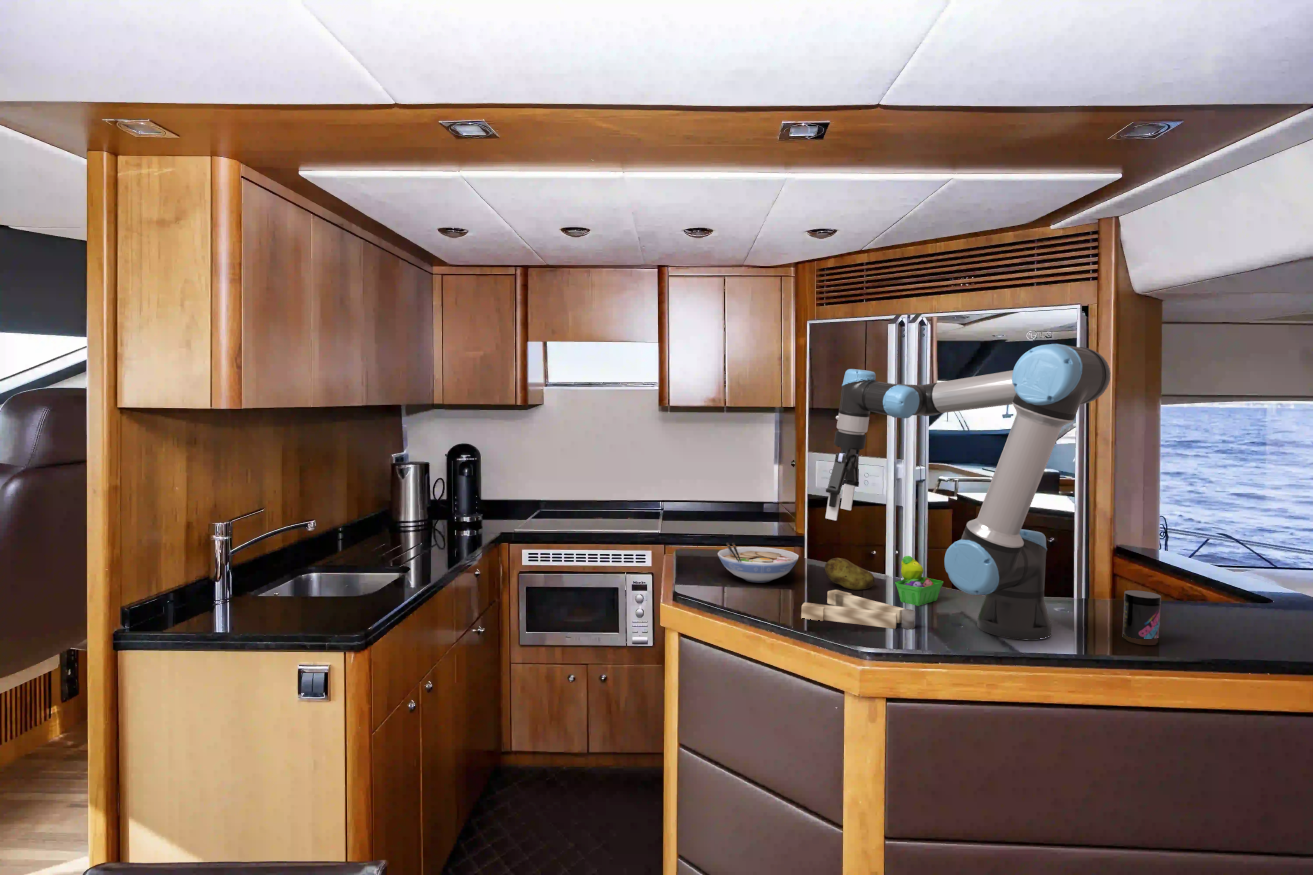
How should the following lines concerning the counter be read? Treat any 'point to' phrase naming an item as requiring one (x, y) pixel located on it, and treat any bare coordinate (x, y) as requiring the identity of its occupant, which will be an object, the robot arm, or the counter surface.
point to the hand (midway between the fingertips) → (838, 514)
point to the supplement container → (1141, 614)
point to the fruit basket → (916, 584)
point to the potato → (848, 574)
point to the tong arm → (861, 603)
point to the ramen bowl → (757, 562)
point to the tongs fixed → (857, 616)
